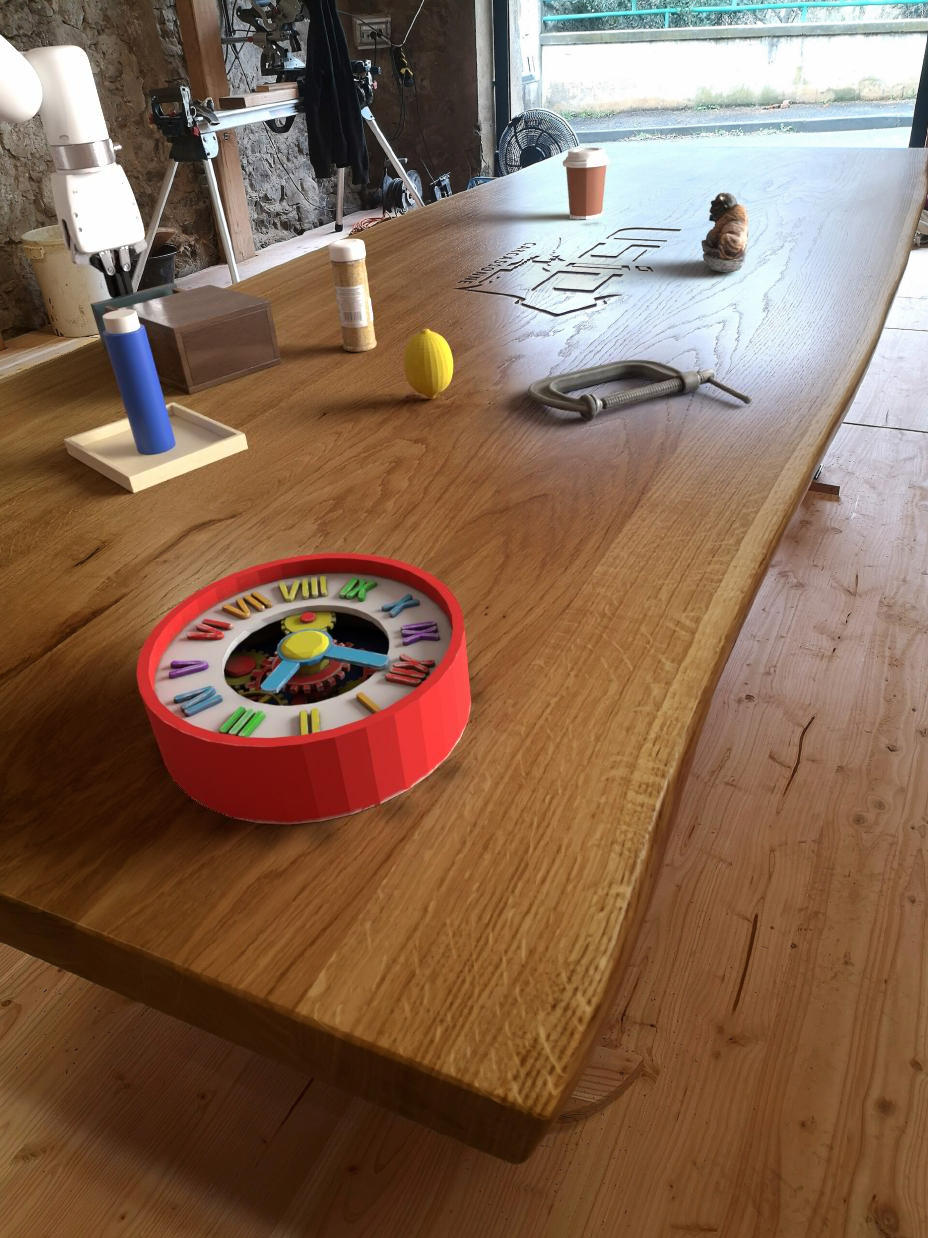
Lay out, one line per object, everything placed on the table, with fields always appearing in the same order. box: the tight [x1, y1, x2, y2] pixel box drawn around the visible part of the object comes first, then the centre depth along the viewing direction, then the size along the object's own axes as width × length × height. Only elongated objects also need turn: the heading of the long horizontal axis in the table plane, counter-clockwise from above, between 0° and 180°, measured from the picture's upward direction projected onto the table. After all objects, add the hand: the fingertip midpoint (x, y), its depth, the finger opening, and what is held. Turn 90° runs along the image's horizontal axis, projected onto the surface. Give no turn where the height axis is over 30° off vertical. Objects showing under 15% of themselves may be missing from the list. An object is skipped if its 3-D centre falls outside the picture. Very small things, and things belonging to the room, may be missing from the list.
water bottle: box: [102, 309, 176, 455], centre depth 92 cm, size 4×4×14 cm
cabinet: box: [117, 284, 282, 395], centre depth 116 cm, size 15×14×8 cm
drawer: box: [90, 282, 187, 352], centre depth 123 cm, size 18×12×6 cm
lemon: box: [403, 328, 454, 400], centre depth 101 cm, size 6×6×8 cm
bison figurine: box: [701, 191, 749, 273], centre depth 139 cm, size 12×7×10 cm, turn 175°
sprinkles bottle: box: [327, 238, 377, 353], centre depth 117 cm, size 5×5×14 cm
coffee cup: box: [562, 146, 611, 221], centre depth 177 cm, size 9×9×12 cm
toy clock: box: [135, 552, 472, 825], centre depth 57 cm, size 20×6×20 cm
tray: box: [63, 401, 249, 494], centre depth 95 cm, size 15×13×2 cm
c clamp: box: [527, 359, 753, 422], centre depth 98 cm, size 20×17×3 cm
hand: (123, 300), depth 128 cm, fingers closed
